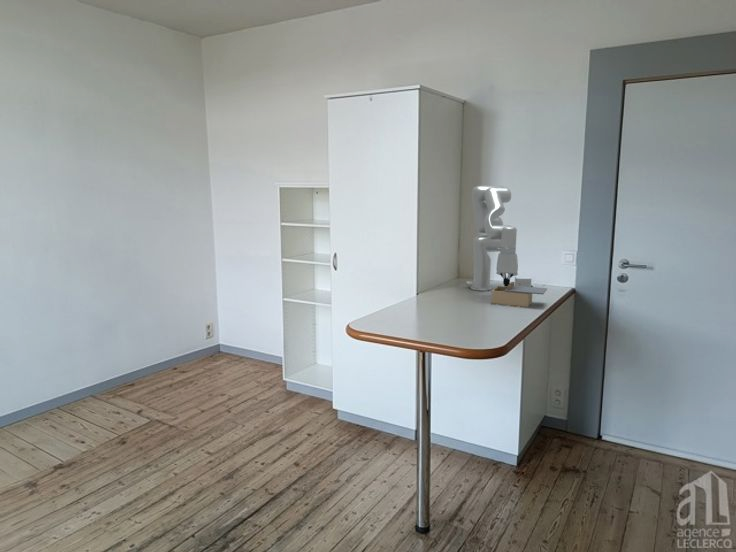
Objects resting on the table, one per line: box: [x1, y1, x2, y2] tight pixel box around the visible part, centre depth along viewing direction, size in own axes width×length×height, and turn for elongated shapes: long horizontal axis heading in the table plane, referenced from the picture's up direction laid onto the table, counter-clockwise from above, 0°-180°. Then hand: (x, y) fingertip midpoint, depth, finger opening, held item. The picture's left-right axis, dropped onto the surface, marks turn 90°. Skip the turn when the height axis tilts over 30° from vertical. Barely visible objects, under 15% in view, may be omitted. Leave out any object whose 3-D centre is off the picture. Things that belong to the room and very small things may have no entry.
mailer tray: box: [491, 285, 533, 308], centre depth 261 cm, size 18×14×7 cm
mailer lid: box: [505, 281, 548, 295], centre depth 257 cm, size 19×15×3 cm
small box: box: [514, 276, 532, 287], centre depth 277 cm, size 8×6×10 cm
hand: (506, 286), depth 261 cm, fingers closed
